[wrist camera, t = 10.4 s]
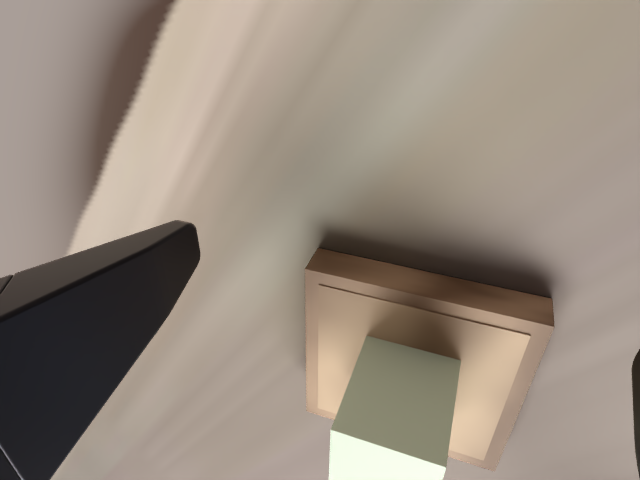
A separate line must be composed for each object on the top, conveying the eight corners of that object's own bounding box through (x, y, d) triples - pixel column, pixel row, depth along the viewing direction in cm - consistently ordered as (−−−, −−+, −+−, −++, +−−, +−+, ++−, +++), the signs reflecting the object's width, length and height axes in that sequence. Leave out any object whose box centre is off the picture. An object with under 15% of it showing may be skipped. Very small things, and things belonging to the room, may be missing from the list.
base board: (552, 298, 22) (554, 327, 21) (496, 442, 29) (494, 472, 28) (318, 247, 26) (304, 269, 24) (316, 387, 33) (306, 411, 31)
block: (461, 360, 24) (446, 467, 19) (445, 419, 27) (428, 525, 22) (366, 335, 25) (330, 429, 20) (360, 394, 28) (328, 488, 23)
